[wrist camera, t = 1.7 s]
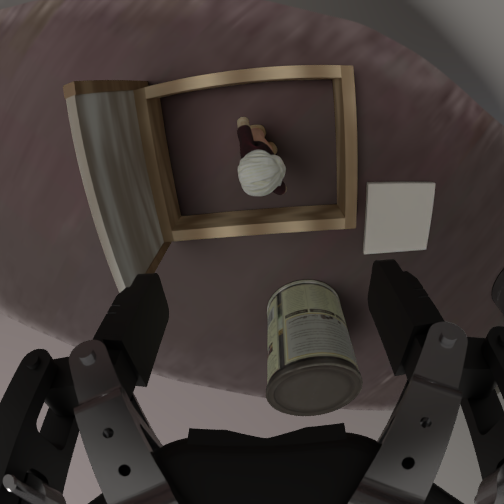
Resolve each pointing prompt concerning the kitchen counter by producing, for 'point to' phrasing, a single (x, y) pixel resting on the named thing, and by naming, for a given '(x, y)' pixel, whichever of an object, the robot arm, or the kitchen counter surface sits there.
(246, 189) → the grandmother figurine
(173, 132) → the kitchen counter surface
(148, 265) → the cold frame
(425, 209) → the tile
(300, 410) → the coffee can
